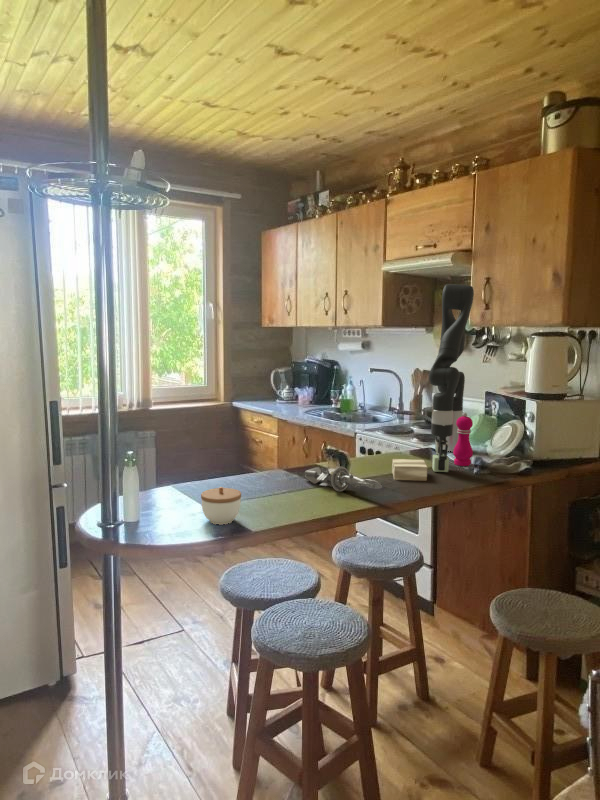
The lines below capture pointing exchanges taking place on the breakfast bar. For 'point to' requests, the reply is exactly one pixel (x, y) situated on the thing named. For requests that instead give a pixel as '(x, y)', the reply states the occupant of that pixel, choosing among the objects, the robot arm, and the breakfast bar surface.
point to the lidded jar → (221, 504)
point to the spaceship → (339, 478)
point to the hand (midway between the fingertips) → (440, 468)
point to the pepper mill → (463, 441)
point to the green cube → (435, 464)
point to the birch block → (409, 469)
